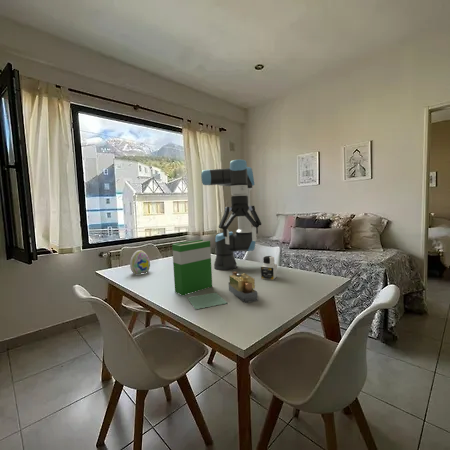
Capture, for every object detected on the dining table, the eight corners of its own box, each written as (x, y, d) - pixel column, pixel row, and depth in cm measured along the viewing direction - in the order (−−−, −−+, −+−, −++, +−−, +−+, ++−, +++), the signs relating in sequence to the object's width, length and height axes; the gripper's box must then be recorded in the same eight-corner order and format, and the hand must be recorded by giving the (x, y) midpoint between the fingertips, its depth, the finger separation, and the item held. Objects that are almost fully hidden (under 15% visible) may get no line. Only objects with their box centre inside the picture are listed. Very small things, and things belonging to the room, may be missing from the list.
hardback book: (204, 283, 137) (201, 239, 135) (212, 286, 132) (210, 240, 130) (175, 291, 126) (172, 244, 124) (182, 295, 120) (179, 245, 118)
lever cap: (229, 284, 121) (229, 274, 120) (244, 282, 124) (244, 271, 123) (238, 291, 111) (238, 279, 111) (254, 288, 114) (254, 276, 114)
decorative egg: (135, 277, 156) (133, 252, 154) (127, 273, 165) (126, 250, 163) (153, 272, 163) (152, 249, 162) (146, 269, 173) (144, 247, 171)
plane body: (228, 290, 125) (228, 271, 124) (239, 288, 127) (239, 270, 126) (245, 303, 108) (244, 282, 108) (257, 300, 111) (256, 279, 110)
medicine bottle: (261, 278, 141) (260, 257, 140) (265, 275, 148) (264, 254, 146) (273, 280, 138) (273, 258, 137) (277, 276, 144) (276, 255, 143)
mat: (187, 298, 117) (187, 297, 116) (216, 293, 122) (216, 292, 122) (195, 310, 104) (195, 309, 104) (227, 303, 109) (227, 302, 109)
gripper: (216, 195, 105) (218, 246, 107) (268, 194, 114) (269, 240, 116) (210, 196, 112) (212, 244, 114) (259, 195, 121) (261, 238, 123)
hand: (241, 242), depth 115 cm, fingers open, 13 cm apart
